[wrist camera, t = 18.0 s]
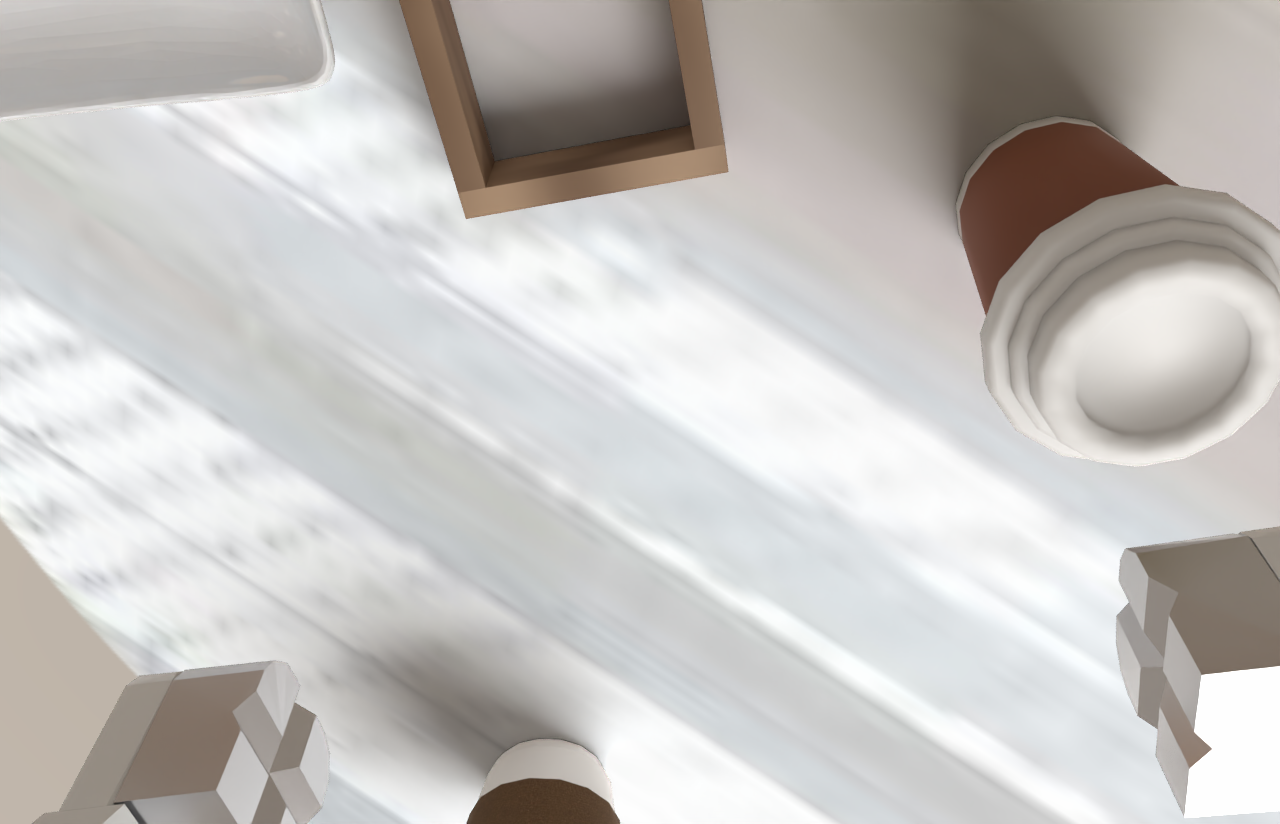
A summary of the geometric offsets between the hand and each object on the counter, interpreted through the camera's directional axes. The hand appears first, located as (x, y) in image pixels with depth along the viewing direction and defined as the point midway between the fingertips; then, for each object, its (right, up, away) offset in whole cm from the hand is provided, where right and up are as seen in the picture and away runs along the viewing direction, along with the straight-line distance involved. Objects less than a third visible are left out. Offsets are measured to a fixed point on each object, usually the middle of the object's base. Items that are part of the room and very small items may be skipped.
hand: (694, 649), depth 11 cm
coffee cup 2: (+14, +10, +31) cm, 35 cm away
